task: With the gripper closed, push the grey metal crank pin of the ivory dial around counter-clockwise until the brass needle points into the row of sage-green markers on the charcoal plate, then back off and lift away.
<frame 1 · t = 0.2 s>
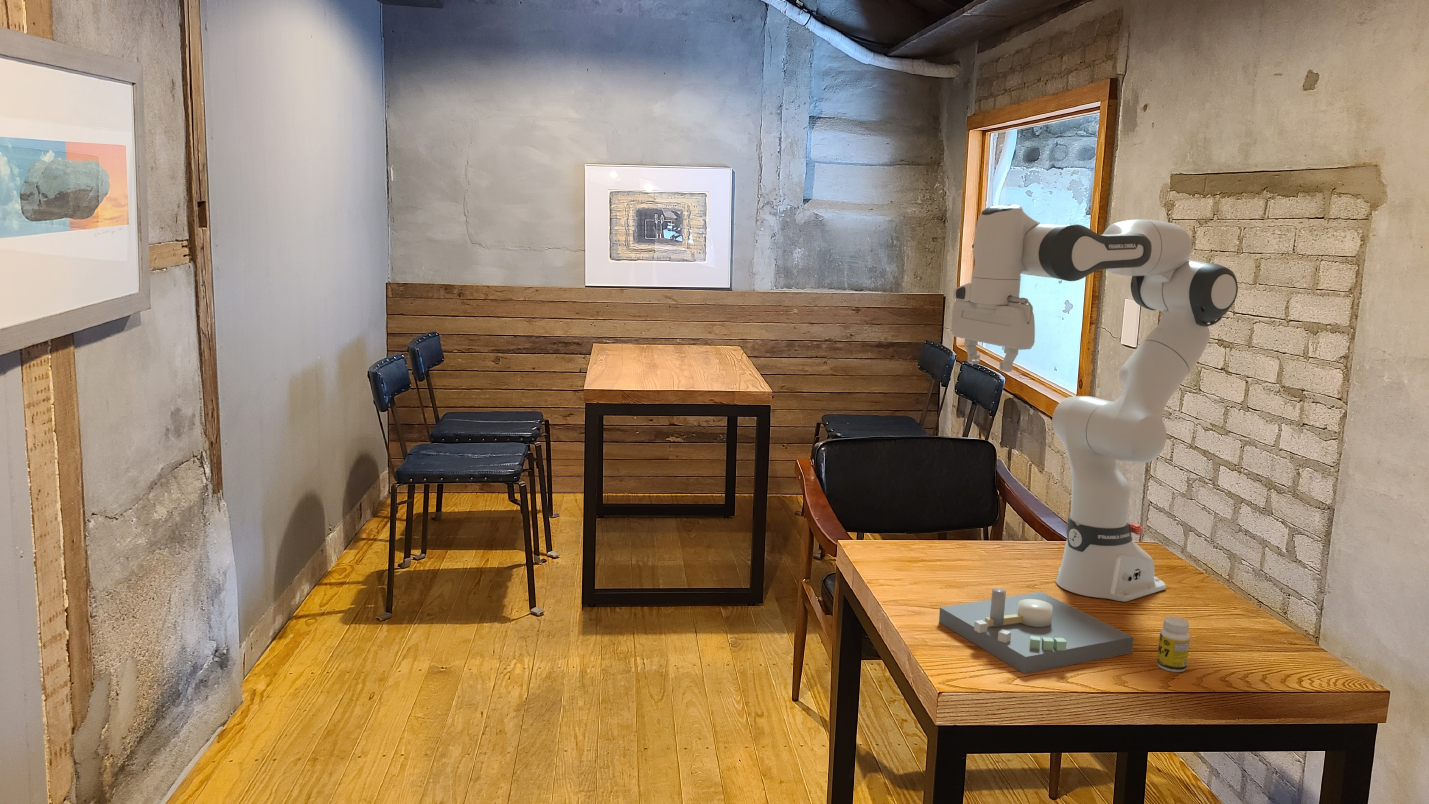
hand: (989, 367, 205), 47 cm above the table, tool pointing down, fingers open, 8 cm apart
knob: (1019, 605, 197), point 6 cm above the table, hinge at 0.0°
dial plate: (1032, 637, 199), on the table
supplement bottle: (1171, 668, 188), on the table
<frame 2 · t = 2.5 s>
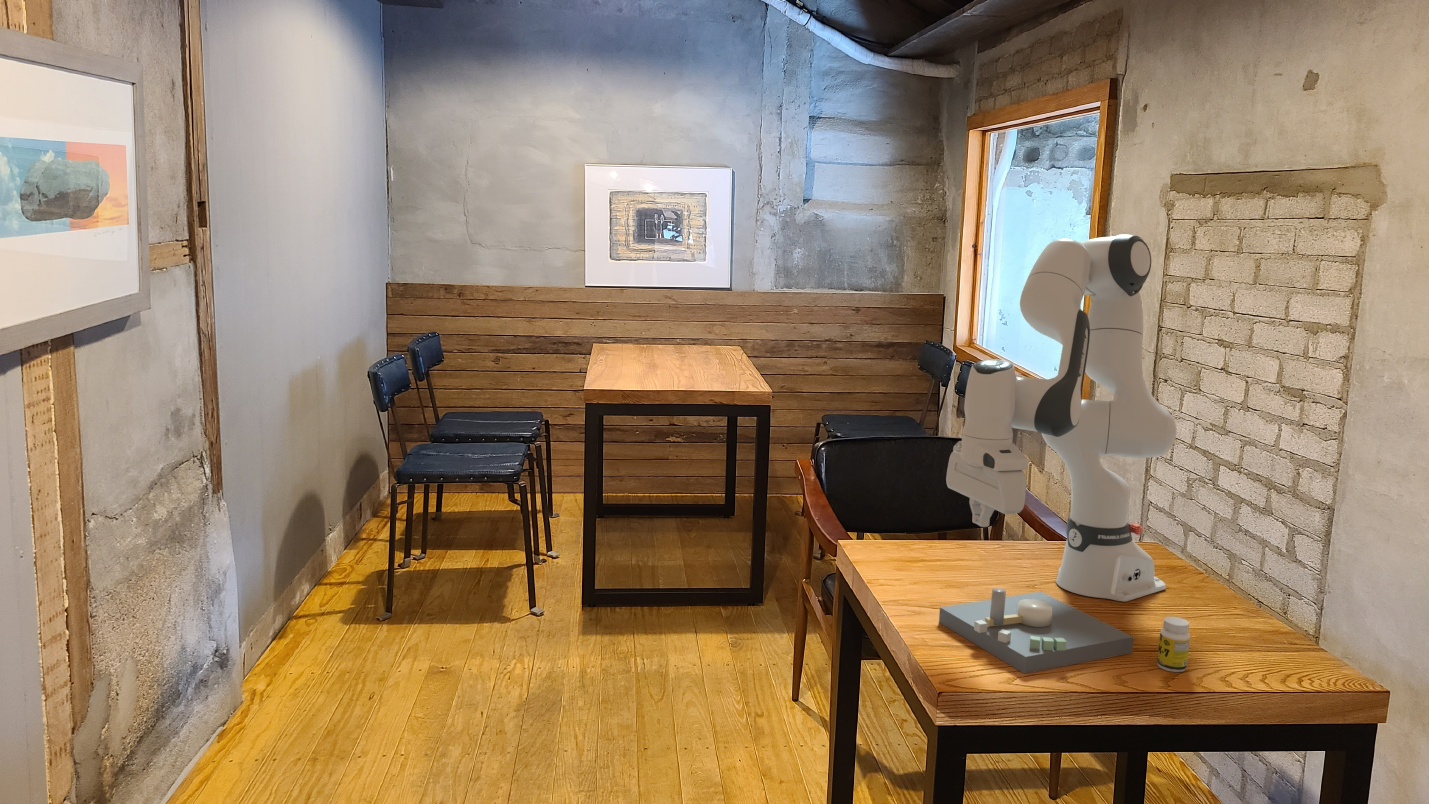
hand: (980, 524, 199), 20 cm above the table, tool pointing down, fingers closed
nothing on the table moved.
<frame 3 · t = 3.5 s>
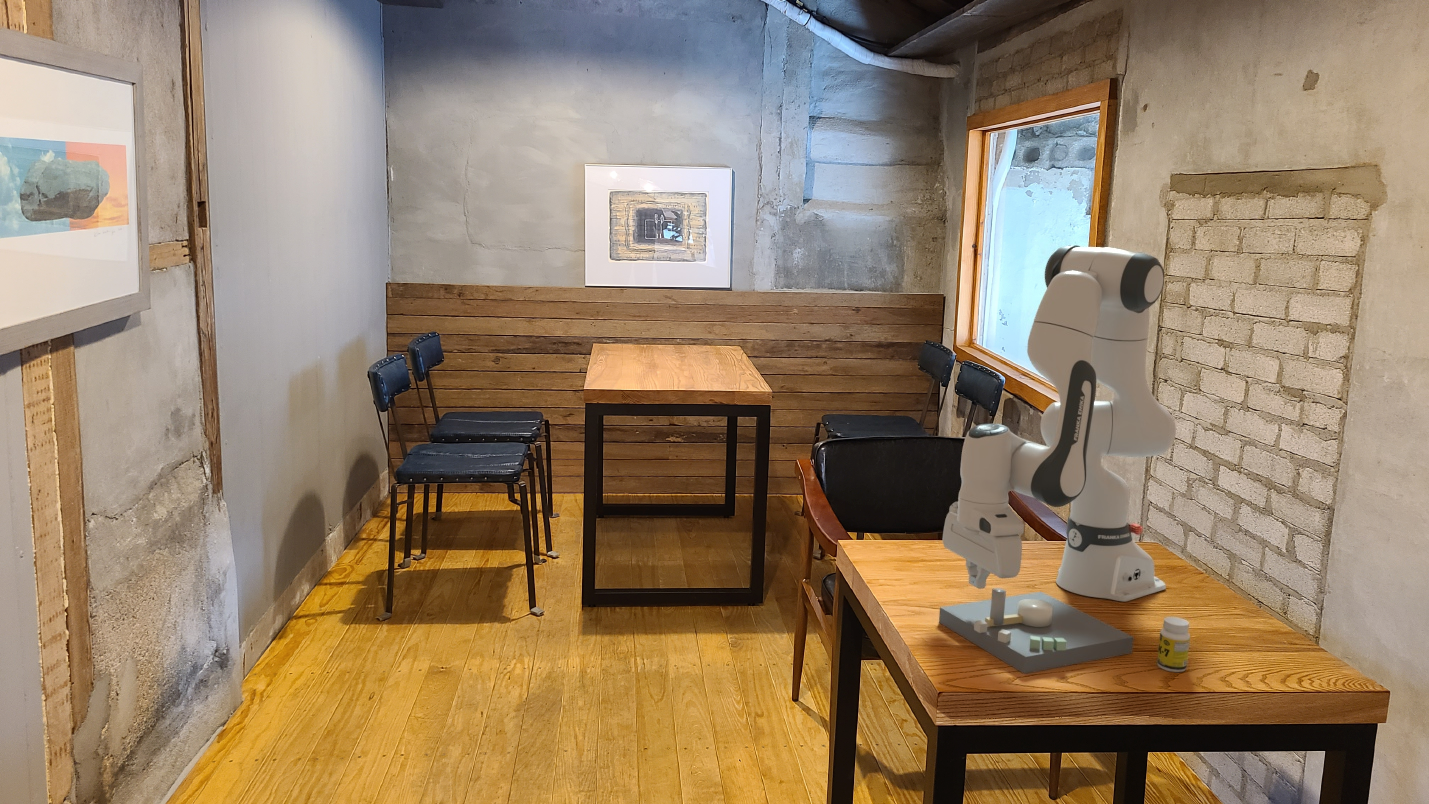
hand: (976, 586, 201), 8 cm above the table, tool pointing down, fingers closed
nothing on the table moved.
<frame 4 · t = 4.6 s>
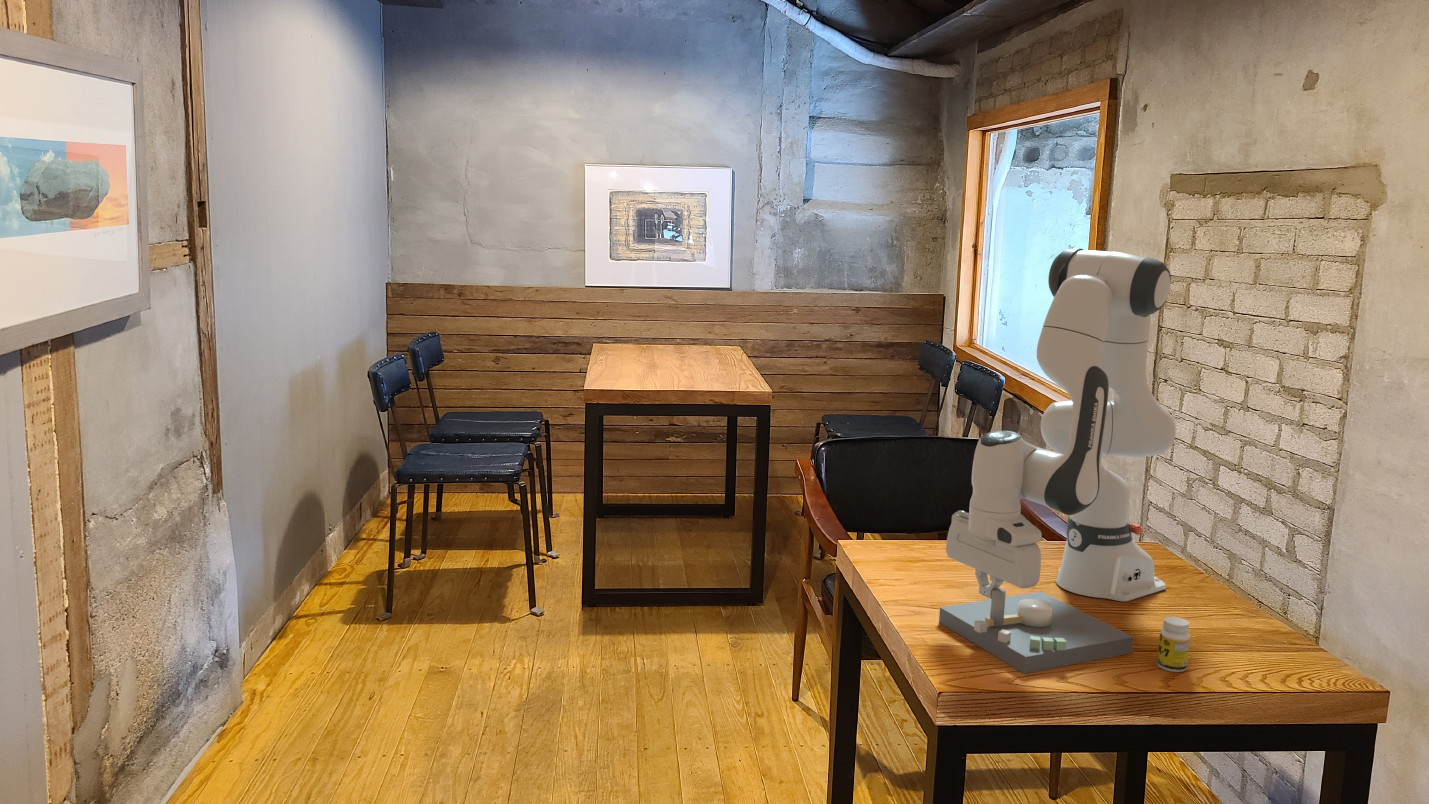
hand: (988, 595, 198), 8 cm above the table, tool pointing down, fingers closed
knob: (1019, 605, 197), point 6 cm above the table, hinge at 0.0°, touching gripper
everything else where it was.
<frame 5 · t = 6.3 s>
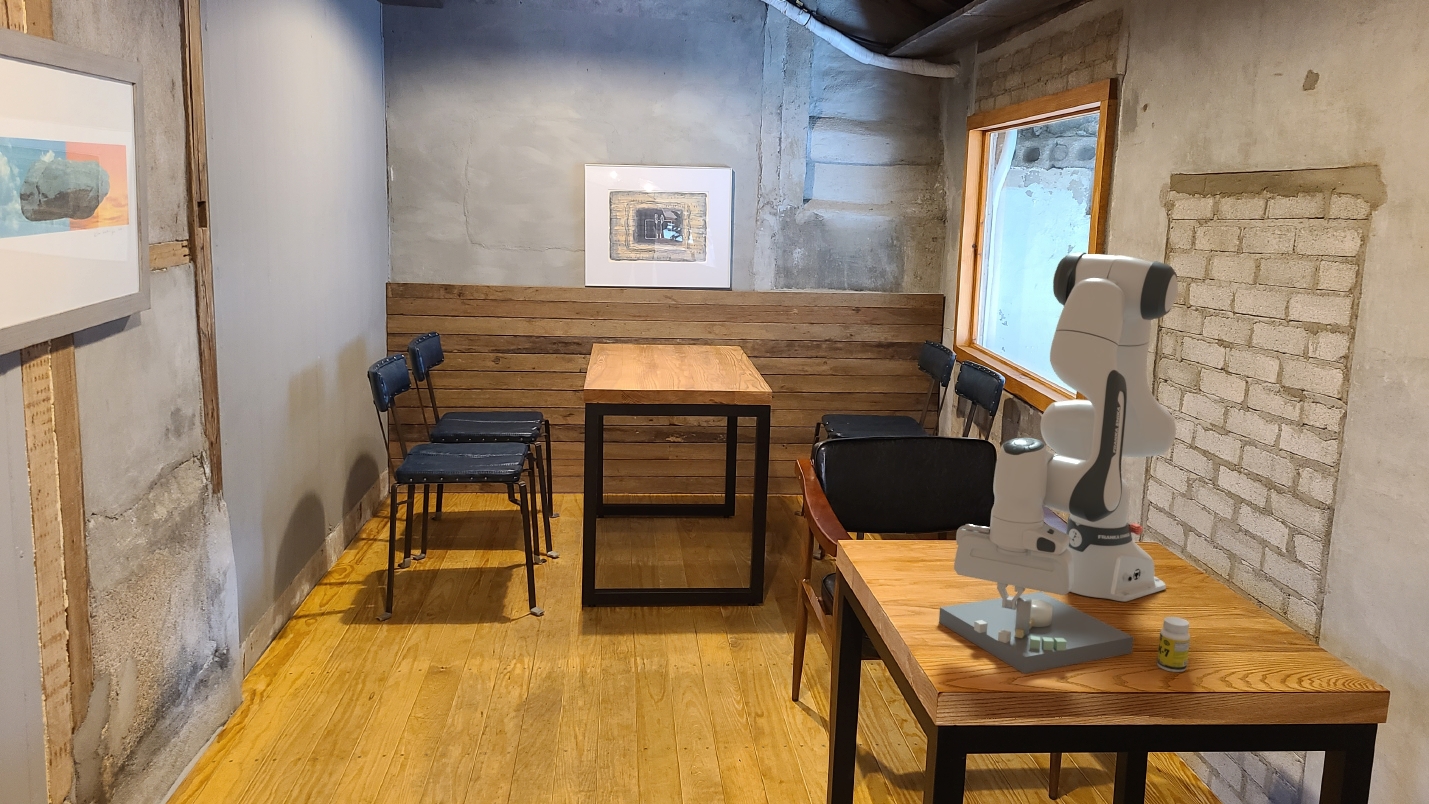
hand: (1009, 607, 192), 8 cm above the table, tool pointing down, fingers closed
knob: (1030, 609, 195), point 6 cm above the table, hinge at 39.3°, touching gripper
everything else where it was.
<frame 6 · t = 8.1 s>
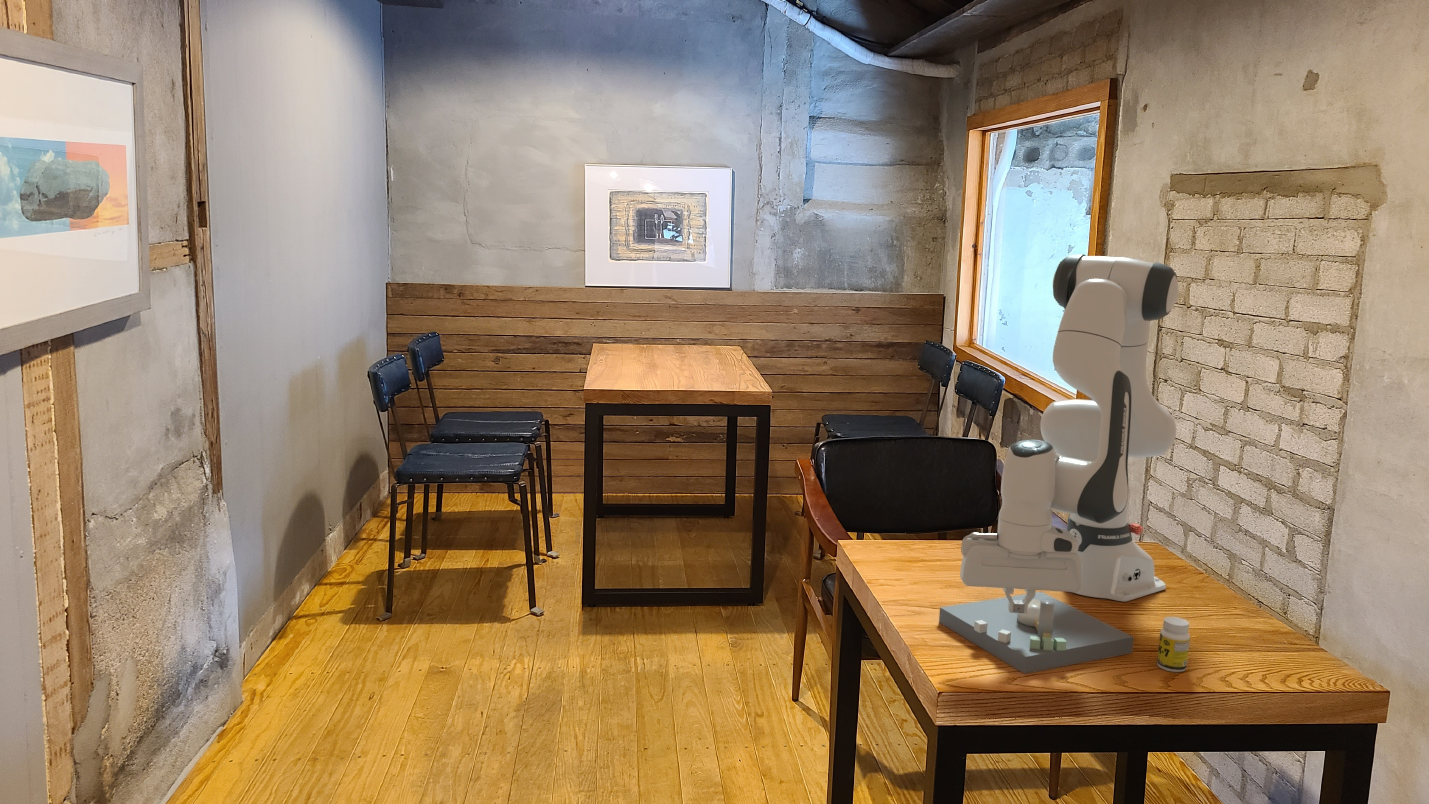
hand: (1017, 611, 190), 8 cm above the table, tool pointing down, fingers closed
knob: (1040, 610, 195), point 6 cm above the table, hinge at 67.2°
everything else where it was.
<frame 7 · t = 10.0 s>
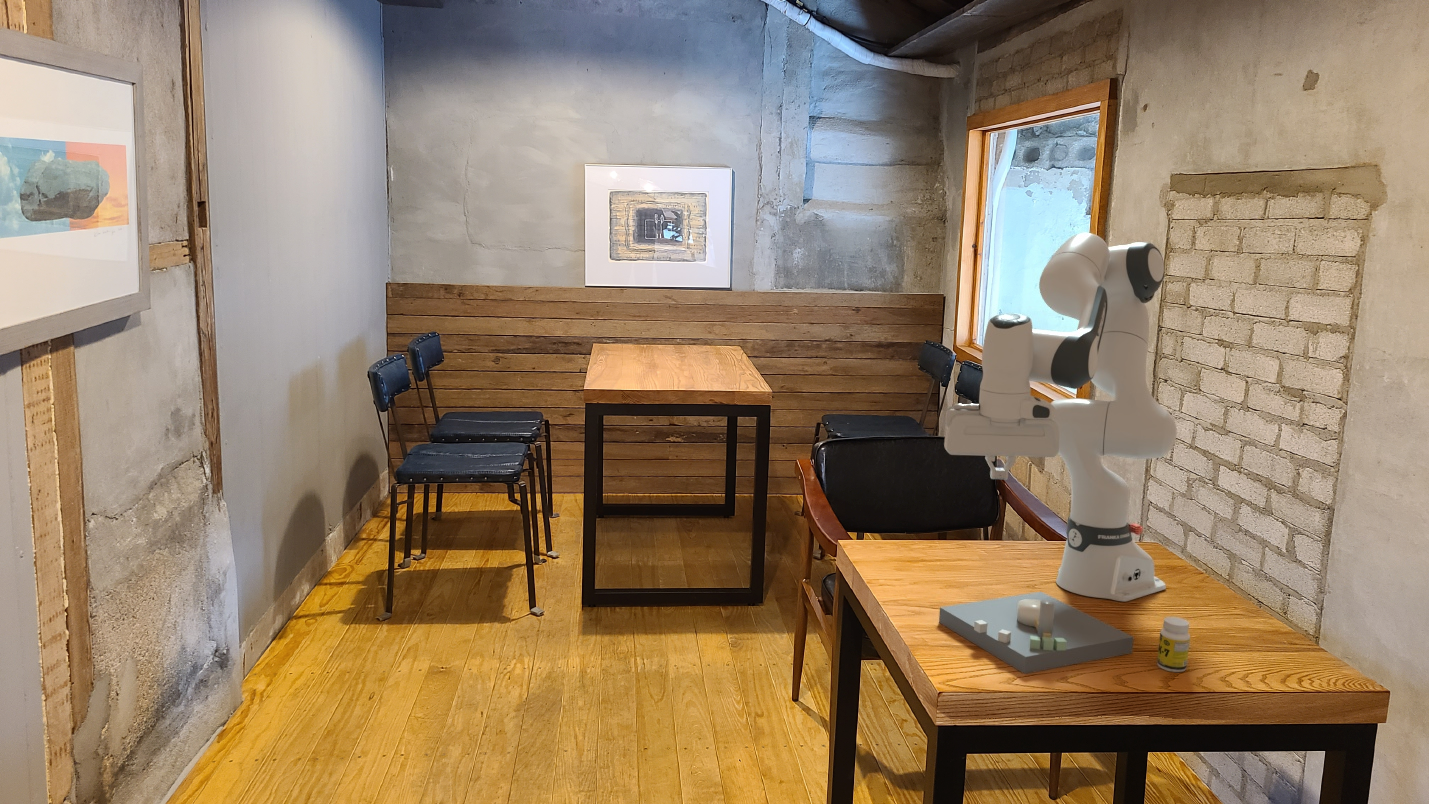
hand: (998, 478, 200), 28 cm above the table, tool pointing down, fingers closed
nothing on the table moved.
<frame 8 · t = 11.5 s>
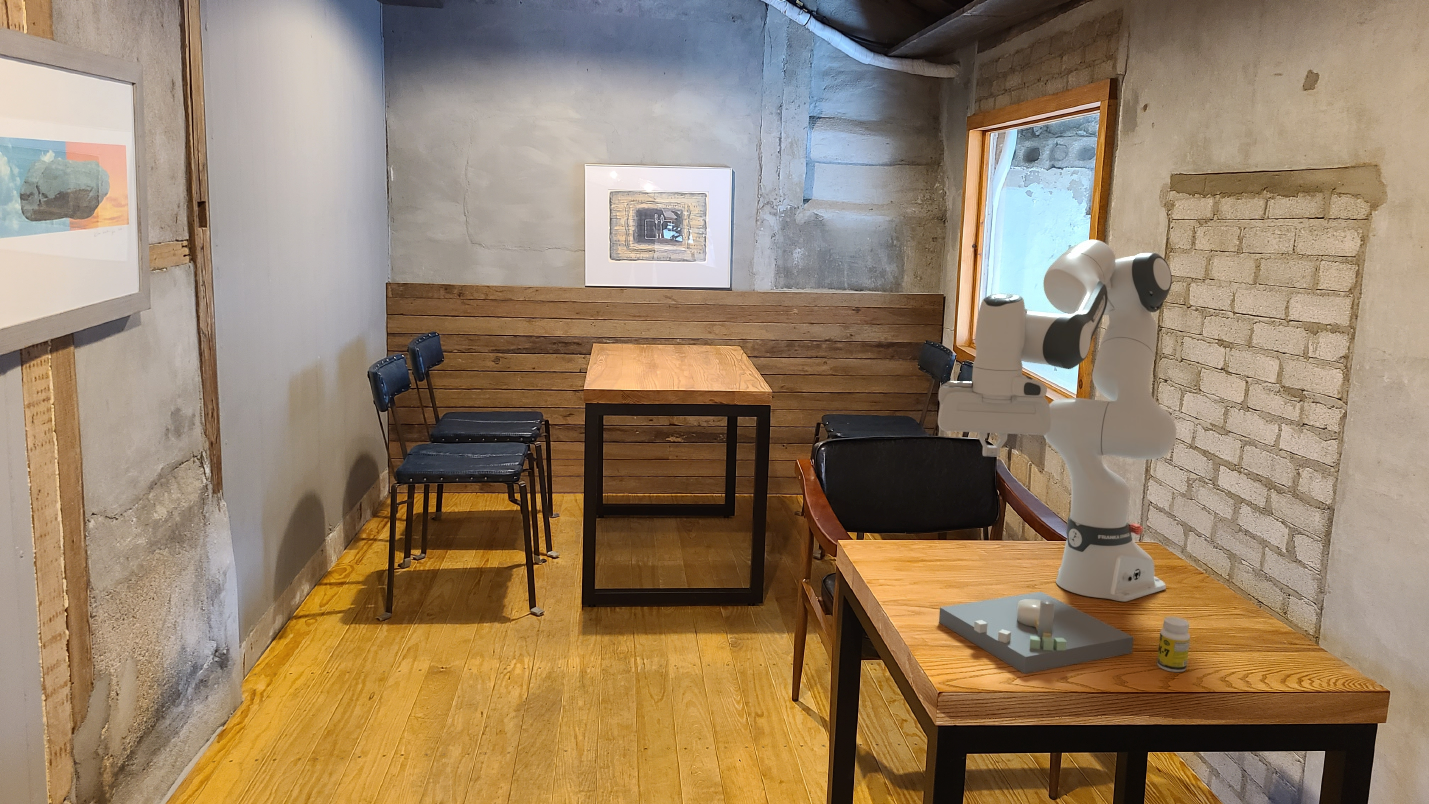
hand: (990, 455, 204), 31 cm above the table, tool pointing down, fingers closed
nothing on the table moved.
at the end: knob at +67° (first picture: +0°); the gripper is holding nothing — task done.
